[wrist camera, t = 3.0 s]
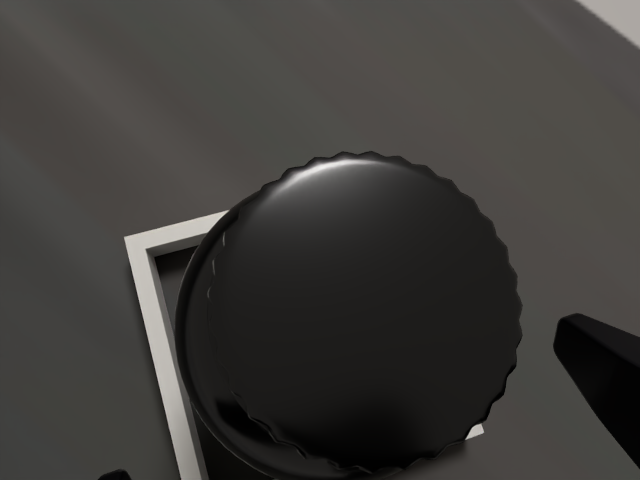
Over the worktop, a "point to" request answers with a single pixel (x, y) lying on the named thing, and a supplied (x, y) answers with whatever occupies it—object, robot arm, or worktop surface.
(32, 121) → the worktop surface
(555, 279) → the worktop surface
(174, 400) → the white square frame
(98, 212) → the worktop surface
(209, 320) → the supplement bottle
